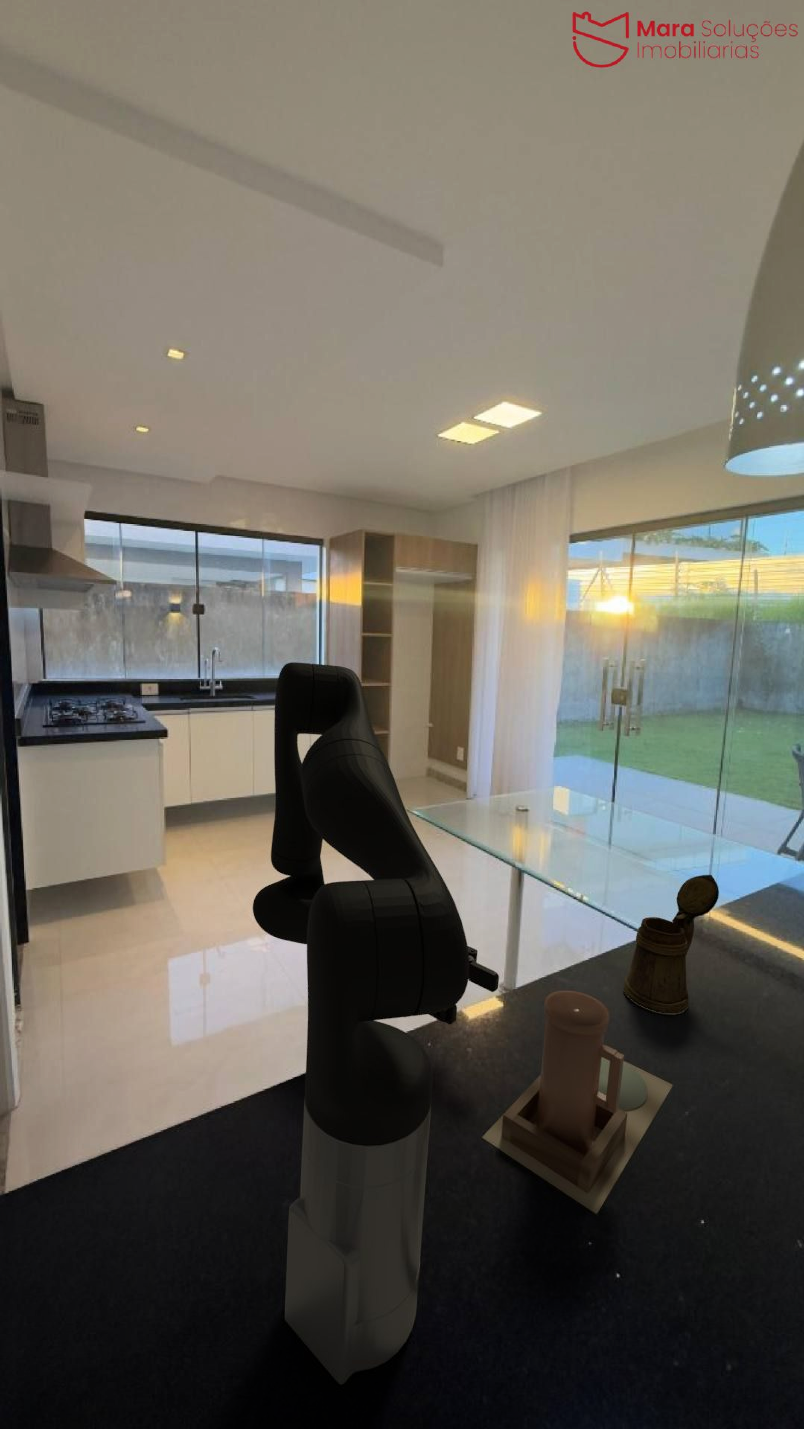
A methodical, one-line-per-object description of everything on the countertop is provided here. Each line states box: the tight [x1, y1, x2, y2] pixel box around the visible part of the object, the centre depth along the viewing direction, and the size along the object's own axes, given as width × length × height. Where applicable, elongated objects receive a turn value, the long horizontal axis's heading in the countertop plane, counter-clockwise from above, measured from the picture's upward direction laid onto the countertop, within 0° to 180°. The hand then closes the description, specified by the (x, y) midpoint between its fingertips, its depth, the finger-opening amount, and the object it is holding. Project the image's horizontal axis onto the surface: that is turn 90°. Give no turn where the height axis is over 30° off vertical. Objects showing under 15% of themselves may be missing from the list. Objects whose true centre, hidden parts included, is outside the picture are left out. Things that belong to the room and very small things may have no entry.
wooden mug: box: [623, 874, 720, 1013], centre depth 90 cm, size 9×14×18 cm, turn 114°
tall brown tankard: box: [536, 990, 625, 1156], centre depth 61 cm, size 6×8×14 cm
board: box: [481, 1057, 674, 1215], centre depth 66 cm, size 22×12×4 cm, turn 140°
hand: (477, 998), depth 69 cm, fingers open, 8 cm apart
